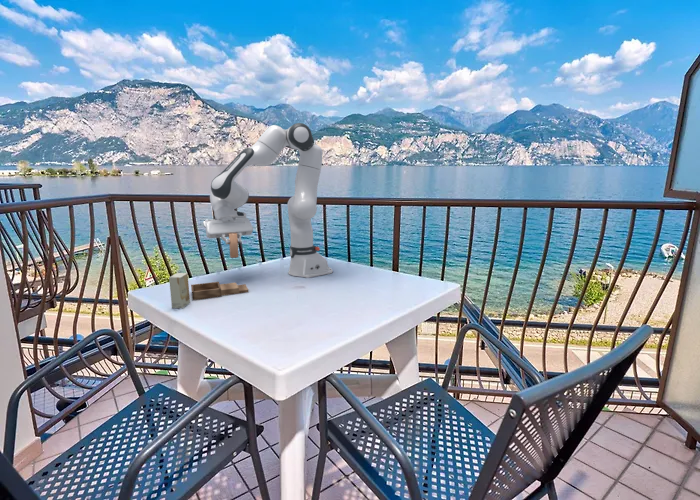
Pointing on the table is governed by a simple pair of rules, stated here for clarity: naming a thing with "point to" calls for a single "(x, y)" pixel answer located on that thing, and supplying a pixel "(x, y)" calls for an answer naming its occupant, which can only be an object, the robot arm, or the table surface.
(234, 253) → the wooden block
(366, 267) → the table surface
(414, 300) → the table surface
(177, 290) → the skincare box
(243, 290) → the wooden desk organizer
